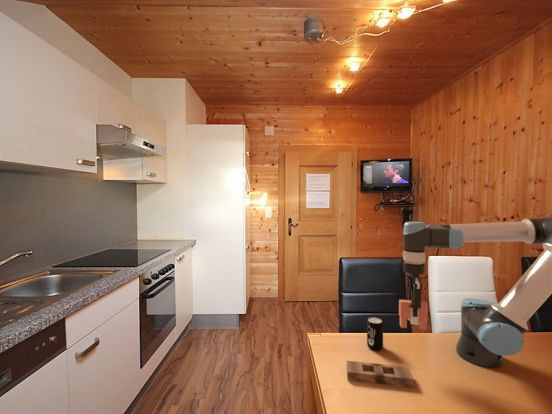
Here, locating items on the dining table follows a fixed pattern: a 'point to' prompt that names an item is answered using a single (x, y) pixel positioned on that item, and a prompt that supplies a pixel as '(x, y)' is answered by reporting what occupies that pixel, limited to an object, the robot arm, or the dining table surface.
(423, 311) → the pink pronged block
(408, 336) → the dining table surface
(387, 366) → the grey-brown slotted holder
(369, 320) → the beverage can
